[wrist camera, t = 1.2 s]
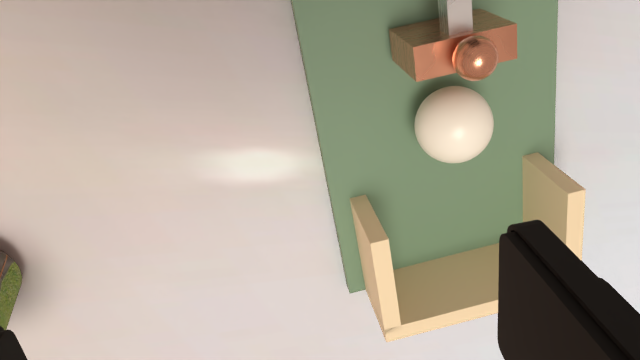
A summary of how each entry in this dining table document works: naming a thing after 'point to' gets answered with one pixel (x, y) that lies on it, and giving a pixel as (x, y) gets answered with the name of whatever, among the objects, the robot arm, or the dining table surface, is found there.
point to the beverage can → (8, 287)
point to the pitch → (431, 161)
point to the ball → (454, 124)
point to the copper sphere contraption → (454, 43)
